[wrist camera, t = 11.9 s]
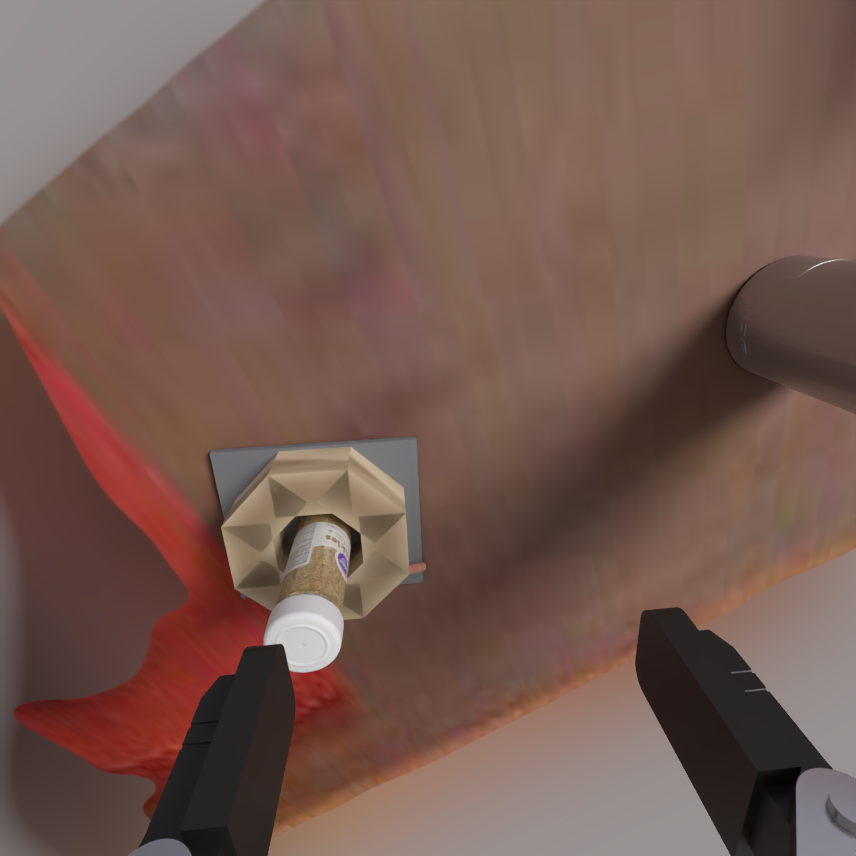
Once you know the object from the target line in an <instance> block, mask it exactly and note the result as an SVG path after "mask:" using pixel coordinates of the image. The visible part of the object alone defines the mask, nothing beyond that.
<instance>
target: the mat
mask: <svg viewBox="0 0 856 856" xmlns="http://www.w3.org/2000/svg"><path fill="white" fill-rule="evenodd" d="M339 447H352V448H353V449H354V450H356V451H357V452H358V453H360V454H361V455H362V456H364V457H365V458H366V459H367V460H369V461H370V462H371V463H373V464H374V465H375V466H377V467H378V468H379V469H380V470H382V471H383V472H384V473H386V474H387V475H388V476H390V477H391V478H392V479H393V480H395V481H396V482H397V483H399V484H400V485H401V486H403V487H404V496H405V508H406V523H407V540H408V557H409V565H411V564H415V563H420V562H422V542H421V521H420V500H419V479H418V458H417V439H416V437H401V438H386V439H371V440H355V441H340V442H325V443H310V444H295V445H280V446H264V447H249V448H234V449H219V450H212V451H211V452H210V458H211V462H212V467H213V471H214V476H215V481H216V485H217V490H218V494H219V499H220V503H221V508H222V512H223V517H224V521H225V519H226V517H227V515H228V513H229V511H230V510H231V508H232V506H233V504H234V502H235V500H236V499H237V498H238V497H239V495H240V494H241V493H242V492H243V491H244V490H245V489H246V488H247V486H248V485H249V484H250V483H251V482H252V481H253V480H254V479H255V478H256V476H257V475H258V474H259V473H260V472H261V471H262V470H263V469H264V467H265V466H266V465H267V464H268V463H269V462H270V461H271V460H272V458H273V457H274V456H275V455H276V454H277V453H278V452H279V451H294V450H309V449H324V448H339ZM299 522H300V516H295V517H294V518H293V519H292V520H291V521H290V522H289V523H288V524H287V526H286V527H285V529H286V535H287V540H289V541H290V542H292V543H293V542H294V539H295V537H296V535H297V532H298V528H299ZM360 538H361V533H359V532H358V531H357V530H355V529H354V530H353V534H352V536H351V543H350V545H351V547H352V546H353V545H354V544H355V543H356V542H357V541H358V540H359V539H360ZM414 583H423V572H418V573H414V574H410V575H408V576H407V577H406V578H405V579H404V580H403V581H402V582H401V583H400V584H399V585H402V584H414ZM240 595H241V598H249V597H247V596H246V595H244V594H242V593H241V592H240Z"/></svg>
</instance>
